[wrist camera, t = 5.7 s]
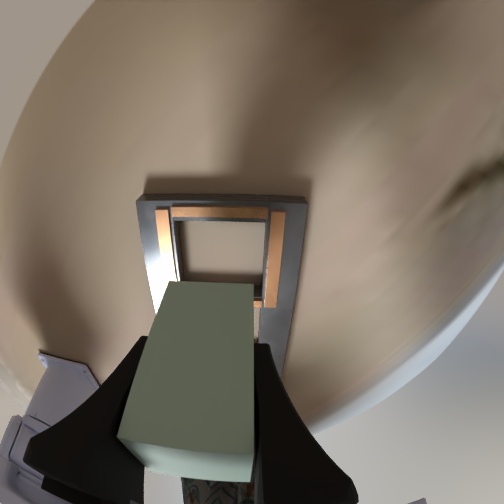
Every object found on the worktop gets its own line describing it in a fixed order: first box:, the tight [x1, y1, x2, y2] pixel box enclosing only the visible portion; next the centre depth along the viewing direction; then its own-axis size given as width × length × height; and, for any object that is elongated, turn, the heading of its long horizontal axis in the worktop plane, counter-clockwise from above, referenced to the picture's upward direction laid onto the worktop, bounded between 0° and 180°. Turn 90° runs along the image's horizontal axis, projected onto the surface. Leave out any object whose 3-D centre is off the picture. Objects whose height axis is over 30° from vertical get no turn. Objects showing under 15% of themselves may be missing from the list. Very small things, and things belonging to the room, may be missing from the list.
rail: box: [136, 194, 308, 379], centre depth 22 cm, size 21×10×1 cm, turn 178°
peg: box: [117, 281, 254, 482], centre depth 11 cm, size 4×4×8 cm
